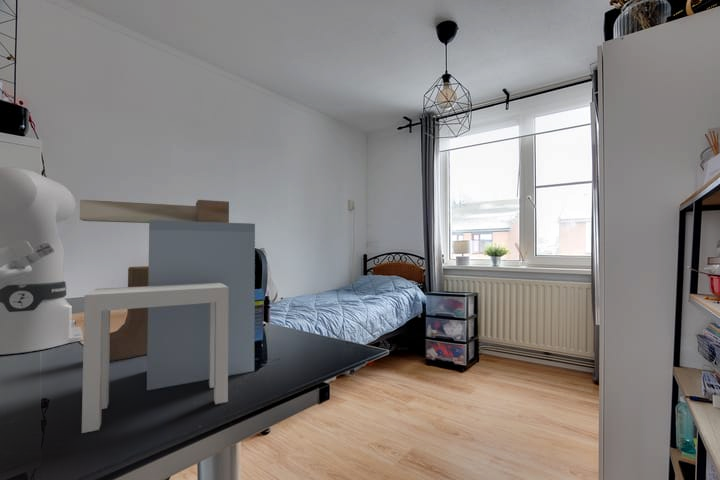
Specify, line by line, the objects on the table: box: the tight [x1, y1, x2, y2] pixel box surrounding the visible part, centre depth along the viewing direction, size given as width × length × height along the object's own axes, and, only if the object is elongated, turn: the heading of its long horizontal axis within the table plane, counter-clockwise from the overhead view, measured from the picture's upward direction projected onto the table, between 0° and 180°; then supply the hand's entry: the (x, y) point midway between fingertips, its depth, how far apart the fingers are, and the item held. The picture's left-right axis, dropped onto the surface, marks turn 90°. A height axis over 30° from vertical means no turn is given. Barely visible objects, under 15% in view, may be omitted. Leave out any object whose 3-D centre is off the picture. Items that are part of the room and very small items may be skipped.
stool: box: [81, 283, 229, 434], centre depth 47 cm, size 8×16×16 cm, turn 120°
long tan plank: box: [79, 199, 230, 224], centre depth 57 cm, size 5×21×4 cm, turn 120°
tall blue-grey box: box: [146, 220, 256, 391], centre depth 60 cm, size 10×16×26 cm, turn 120°
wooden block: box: [109, 265, 149, 363], centre depth 69 cm, size 9×4×18 cm, turn 135°
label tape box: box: [254, 288, 265, 343], centre depth 78 cm, size 9×4×12 cm, turn 141°
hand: (42, 246), depth 50 cm, fingers open, 8 cm apart
